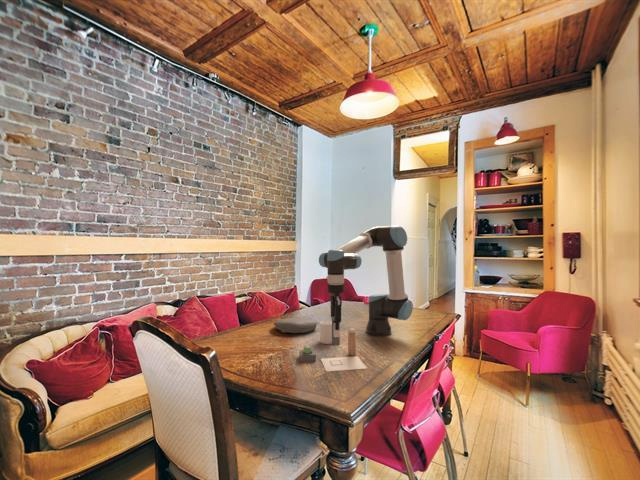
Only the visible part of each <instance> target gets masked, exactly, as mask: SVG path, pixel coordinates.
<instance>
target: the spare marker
mask: <svg viewBox="0 0 640 480" xmlns="http://www.w3.org/2000/svg"><path fill="white" fill-rule="evenodd" d="M347 333H348V334H347V336H348V337H347V355H348V357H355V356H357V355H356V354H357V353H356V351H357V349H356V348H357V347H356V344H357V342H356V339H357V338H356V337H357V336H356V329H355V328H349V329H348V332H347Z"/></svg>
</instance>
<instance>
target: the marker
mask: <svg viewBox="0 0 640 480" xmlns="http://www.w3.org/2000/svg"><path fill="white" fill-rule="evenodd" d="M331 318H332V319H331V321H332V344H331V345H332V346H335V347H336V346H340V345H341V341H340V340H341V336H340V337H334V323H333V321H334V316H333V317H331Z"/></svg>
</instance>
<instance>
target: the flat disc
mask: <svg viewBox="0 0 640 480" xmlns="http://www.w3.org/2000/svg"><path fill="white" fill-rule="evenodd" d="M318 324H319V322H318V320H317V319H314V318H309V317H286V318H282V319H278V320H275V322H273V325H274V327H275V329H276V330H278V331H281V333H283V334H284V333H291V334H294V335H296V334H299V333H304V334H305V333H309V332H312V331H314V330H315V329H316V328H317V325H318Z"/></svg>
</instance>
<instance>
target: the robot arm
mask: <svg viewBox="0 0 640 480" xmlns="http://www.w3.org/2000/svg"><path fill="white" fill-rule="evenodd" d="M407 242H408V234H407V231H406V230H405V229H404V227H402V226H401V225H387V226H386V225H385V226H375V227H371V228H370V229H368V230H366V231H364V232H362V233H360V234H359V236H358V237H355V238H354V239H352V240H351V241H349V242H346V243H345V244H343V245H341V246H339V247H337V248H335V249H329V250H328V251H327V252H322V253H321V254H320V255H319V257H318V263H319V266H320V267H322V268H326V269H327V276H326V279H327V287H326V289H327V293H329V294H331V295H329V296H330V297H329V299H330V318H331V320H332V317H333V316H334V321H333V323H334V337H340V338H341V322H342V303H343V300H342V298H341V295H340V294H343V293H344V292H345V284H344V283H345V274H344V273H345V270H356V269H358V268H360V267H361V265H362V261H363V260H362V257H361V255H360V254H358V253H359V252H360V253H361V251H364V250H365V249H370V248H372V247H373V248H374V247H382V251H383V253H385V259H386V261H385V262H386V269H387V271H386V272H387V279H388V294H387V293H378V294H376V293H375V294H371V295H370V296H368V320H367V324H366V327H365V333H366V334H368V335H372V336H377V337H385V336H389V335H391V334H392V328H391V325H390V322H389V319H390V318H391V319H395V320H399V321H407V320H409V319H410V317H411V316H412V314H413V310H414V308H413V307H414V304H413V302H412V300H410V299H409V296H408V294H407V293H406V292H405V280H404V269H403V256H402V252H403V250H404V247H405V246H406V245H407V244H408V243H407Z"/></svg>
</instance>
